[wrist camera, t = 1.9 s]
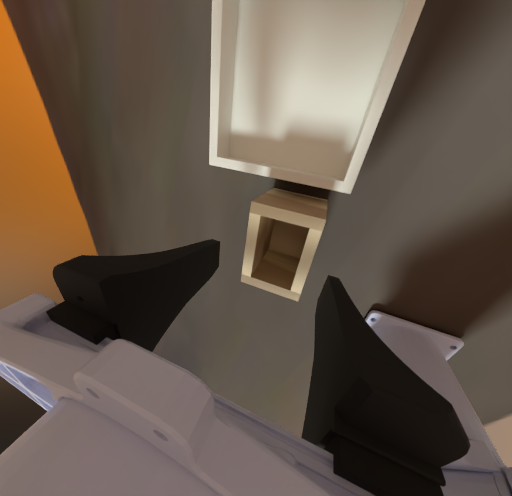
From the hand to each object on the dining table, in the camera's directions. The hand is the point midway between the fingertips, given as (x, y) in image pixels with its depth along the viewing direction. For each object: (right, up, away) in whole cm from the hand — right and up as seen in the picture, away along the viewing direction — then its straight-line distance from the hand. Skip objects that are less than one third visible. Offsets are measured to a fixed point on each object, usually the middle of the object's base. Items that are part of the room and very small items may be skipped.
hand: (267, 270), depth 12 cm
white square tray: (+2, +13, +2) cm, 13 cm away
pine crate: (+3, +3, +7) cm, 8 cm away
